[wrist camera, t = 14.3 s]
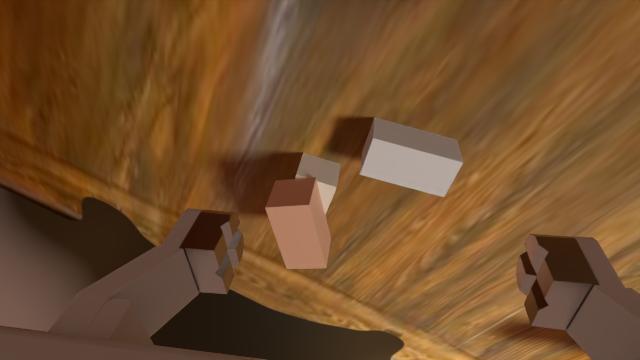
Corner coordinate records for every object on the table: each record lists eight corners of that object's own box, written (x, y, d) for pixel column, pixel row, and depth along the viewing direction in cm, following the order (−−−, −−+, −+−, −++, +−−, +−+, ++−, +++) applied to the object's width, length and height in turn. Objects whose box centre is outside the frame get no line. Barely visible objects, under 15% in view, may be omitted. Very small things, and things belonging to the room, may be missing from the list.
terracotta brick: (316, 177, 45) (309, 204, 41) (330, 238, 51) (326, 268, 47) (275, 180, 46) (264, 207, 42) (294, 240, 52) (286, 269, 48)
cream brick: (340, 163, 49) (336, 187, 45) (319, 217, 56) (313, 242, 52) (303, 151, 49) (296, 174, 45) (285, 206, 55) (278, 231, 51)
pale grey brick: (374, 116, 45) (373, 138, 41) (456, 138, 45) (463, 162, 41) (362, 151, 48) (359, 174, 44) (439, 172, 48) (443, 197, 44)
